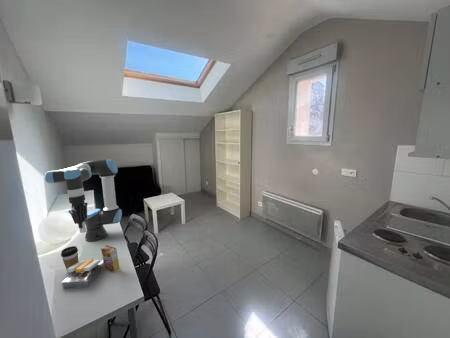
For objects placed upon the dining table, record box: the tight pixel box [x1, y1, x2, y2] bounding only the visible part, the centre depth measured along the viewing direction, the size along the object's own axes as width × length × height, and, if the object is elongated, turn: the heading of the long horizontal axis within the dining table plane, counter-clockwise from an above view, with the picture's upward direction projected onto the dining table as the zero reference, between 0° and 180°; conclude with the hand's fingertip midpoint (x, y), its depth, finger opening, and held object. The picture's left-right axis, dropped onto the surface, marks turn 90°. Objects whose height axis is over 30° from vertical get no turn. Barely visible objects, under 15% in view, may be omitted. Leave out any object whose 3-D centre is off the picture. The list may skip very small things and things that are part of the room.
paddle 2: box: [84, 259, 102, 271], centre depth 118 cm, size 11×3×2 cm, turn 3°
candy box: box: [100, 244, 120, 273], centre depth 122 cm, size 9×4×15 cm, turn 69°
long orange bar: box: [75, 258, 94, 272], centre depth 117 cm, size 11×3×2 cm, turn 3°
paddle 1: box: [68, 259, 87, 272], centre depth 117 cm, size 11×3×2 cm, turn 3°
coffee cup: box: [60, 245, 79, 274], centre depth 122 cm, size 8×8×15 cm
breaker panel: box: [61, 259, 105, 289], centre depth 118 cm, size 18×14×5 cm
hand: (83, 231), depth 117 cm, fingers closed
